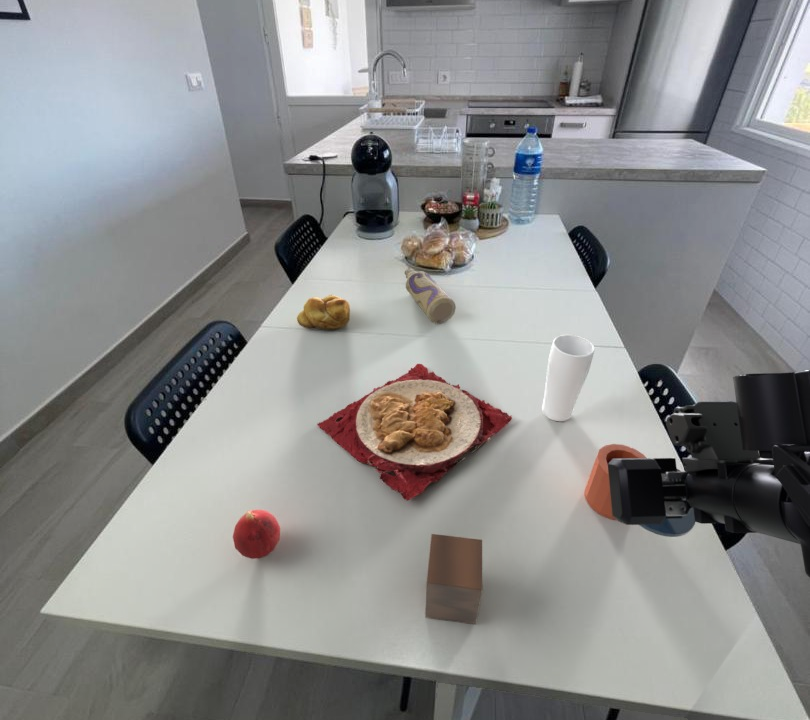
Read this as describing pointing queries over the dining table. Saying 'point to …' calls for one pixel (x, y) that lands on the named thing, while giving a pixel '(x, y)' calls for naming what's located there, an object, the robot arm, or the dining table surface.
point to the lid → (673, 525)
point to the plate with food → (414, 428)
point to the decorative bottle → (429, 296)
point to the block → (454, 579)
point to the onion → (256, 534)
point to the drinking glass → (566, 375)
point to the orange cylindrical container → (605, 477)
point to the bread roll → (325, 313)
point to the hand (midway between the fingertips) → (659, 480)
